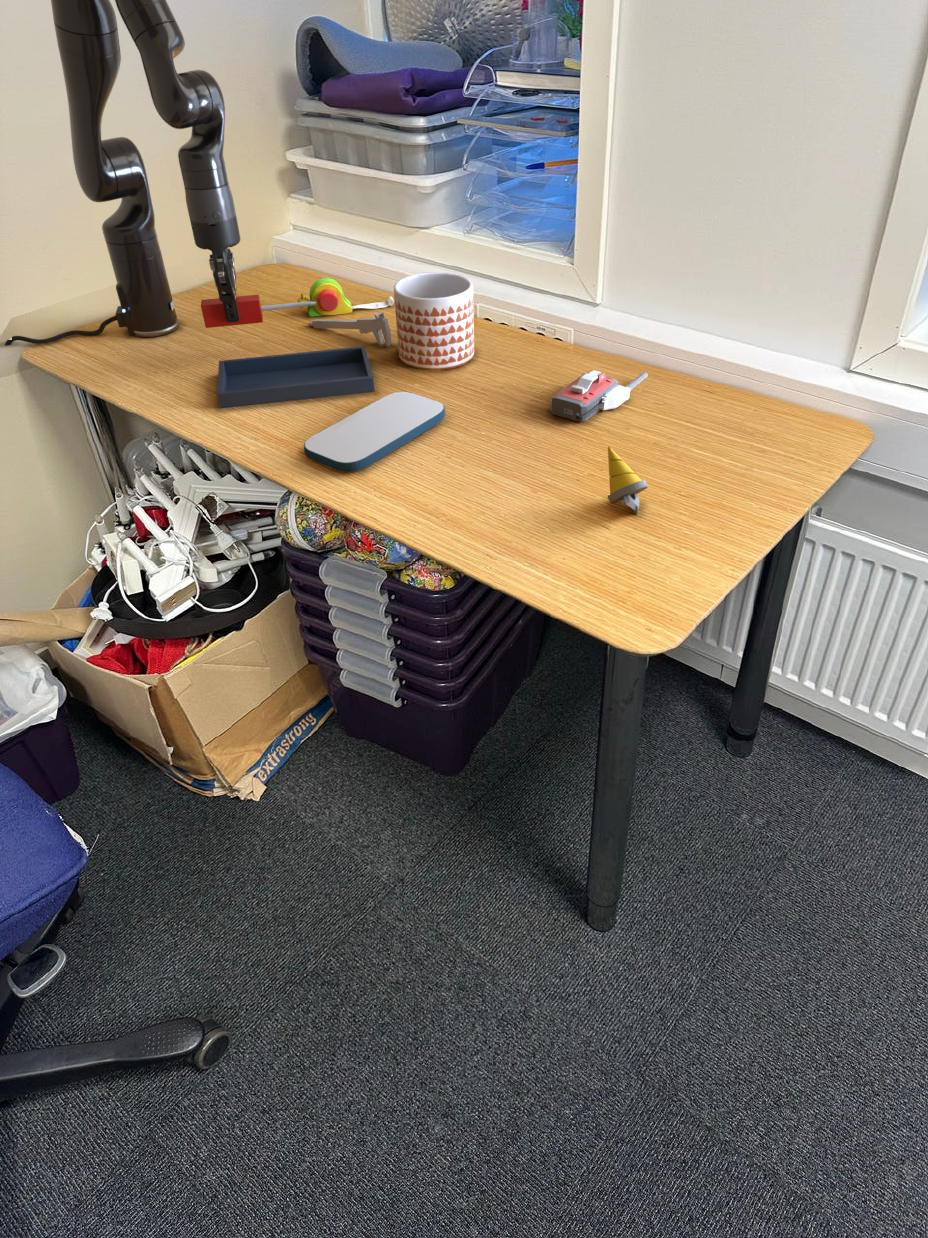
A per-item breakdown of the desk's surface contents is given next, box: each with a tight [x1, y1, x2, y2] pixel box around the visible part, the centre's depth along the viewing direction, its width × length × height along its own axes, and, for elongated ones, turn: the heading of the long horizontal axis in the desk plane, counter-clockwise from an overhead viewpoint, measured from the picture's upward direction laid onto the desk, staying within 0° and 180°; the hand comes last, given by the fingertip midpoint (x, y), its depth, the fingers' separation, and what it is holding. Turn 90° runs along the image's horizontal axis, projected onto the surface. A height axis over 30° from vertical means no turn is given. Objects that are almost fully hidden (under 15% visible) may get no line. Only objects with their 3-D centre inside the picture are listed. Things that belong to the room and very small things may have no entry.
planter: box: [393, 271, 475, 371], centre depth 153 cm, size 14×14×13 cm
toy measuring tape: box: [296, 277, 395, 318], centre depth 174 cm, size 6×20×7 cm, turn 104°
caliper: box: [308, 312, 392, 347], centre depth 164 cm, size 20×1×6 cm, turn 54°
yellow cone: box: [607, 446, 649, 515], centre depth 116 cm, size 5×5×10 cm
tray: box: [216, 345, 376, 409], centre depth 149 cm, size 26×14×3 cm, turn 101°
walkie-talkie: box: [550, 369, 648, 423], centre depth 141 cm, size 9×4×20 cm
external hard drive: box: [303, 391, 446, 473], centre depth 134 cm, size 24×12×2 cm, turn 142°
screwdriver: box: [200, 294, 316, 329], centre depth 154 cm, size 20×3×4 cm, turn 101°
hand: (233, 317), depth 154 cm, fingers closed on screwdriver, 3 cm apart
